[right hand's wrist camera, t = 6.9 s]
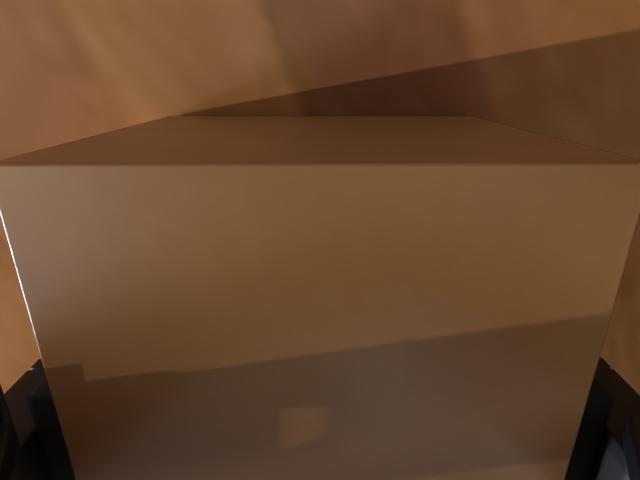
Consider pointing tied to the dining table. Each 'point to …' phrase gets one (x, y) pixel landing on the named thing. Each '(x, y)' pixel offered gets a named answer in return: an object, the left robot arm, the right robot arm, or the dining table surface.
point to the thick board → (320, 294)
